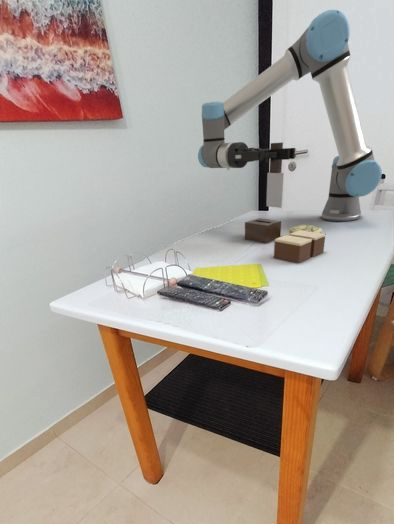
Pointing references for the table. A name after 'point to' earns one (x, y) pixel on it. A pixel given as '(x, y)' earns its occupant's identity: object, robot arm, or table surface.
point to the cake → (316, 242)
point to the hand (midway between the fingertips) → (291, 153)
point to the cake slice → (292, 248)
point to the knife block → (262, 230)
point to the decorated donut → (305, 228)
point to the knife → (275, 180)
